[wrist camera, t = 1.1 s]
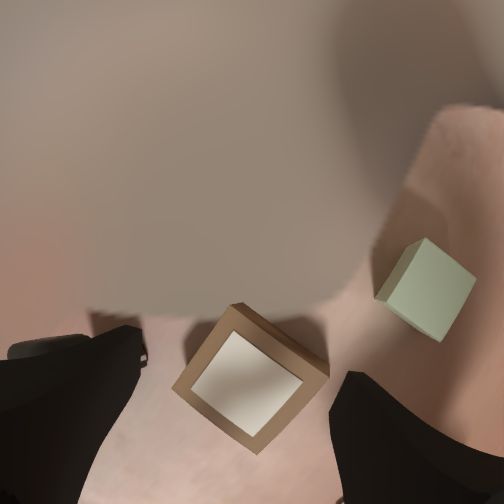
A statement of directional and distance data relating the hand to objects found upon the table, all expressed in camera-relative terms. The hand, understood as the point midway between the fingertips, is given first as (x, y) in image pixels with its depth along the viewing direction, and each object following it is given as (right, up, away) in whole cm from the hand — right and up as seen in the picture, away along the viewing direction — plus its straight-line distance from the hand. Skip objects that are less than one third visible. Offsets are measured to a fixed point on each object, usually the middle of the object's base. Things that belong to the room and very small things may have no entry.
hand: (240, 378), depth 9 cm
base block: (+1, -5, +12) cm, 13 cm away
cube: (+12, +1, +10) cm, 16 cm away
